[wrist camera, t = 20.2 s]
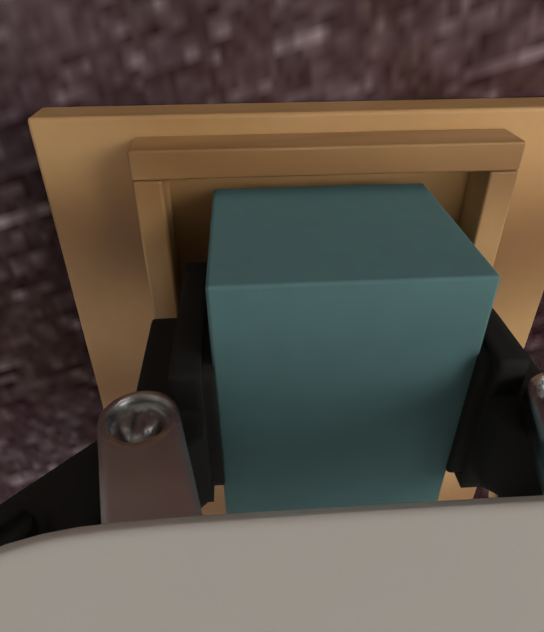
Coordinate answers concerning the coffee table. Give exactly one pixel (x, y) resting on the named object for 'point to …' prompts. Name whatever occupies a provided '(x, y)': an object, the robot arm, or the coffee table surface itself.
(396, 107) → the frame
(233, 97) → the coffee table surface
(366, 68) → the coffee table surface
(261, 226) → the teal rectangular block
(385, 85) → the coffee table surface
